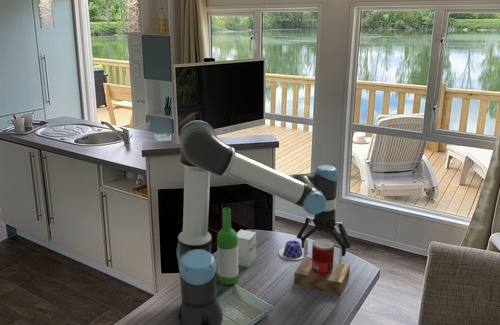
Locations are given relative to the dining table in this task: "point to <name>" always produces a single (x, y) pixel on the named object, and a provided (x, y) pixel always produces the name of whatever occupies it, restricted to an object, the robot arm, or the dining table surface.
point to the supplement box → (246, 247)
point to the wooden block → (322, 277)
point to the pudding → (292, 251)
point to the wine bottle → (227, 251)
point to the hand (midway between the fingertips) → (322, 259)
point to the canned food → (322, 256)
